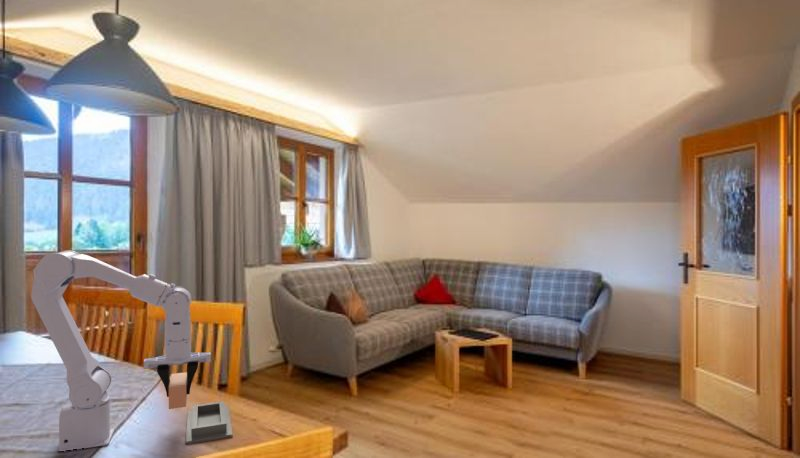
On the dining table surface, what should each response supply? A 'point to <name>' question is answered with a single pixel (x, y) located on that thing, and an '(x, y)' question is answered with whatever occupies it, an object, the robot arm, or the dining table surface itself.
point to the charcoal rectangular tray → (208, 422)
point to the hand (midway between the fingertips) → (178, 394)
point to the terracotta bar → (177, 390)
